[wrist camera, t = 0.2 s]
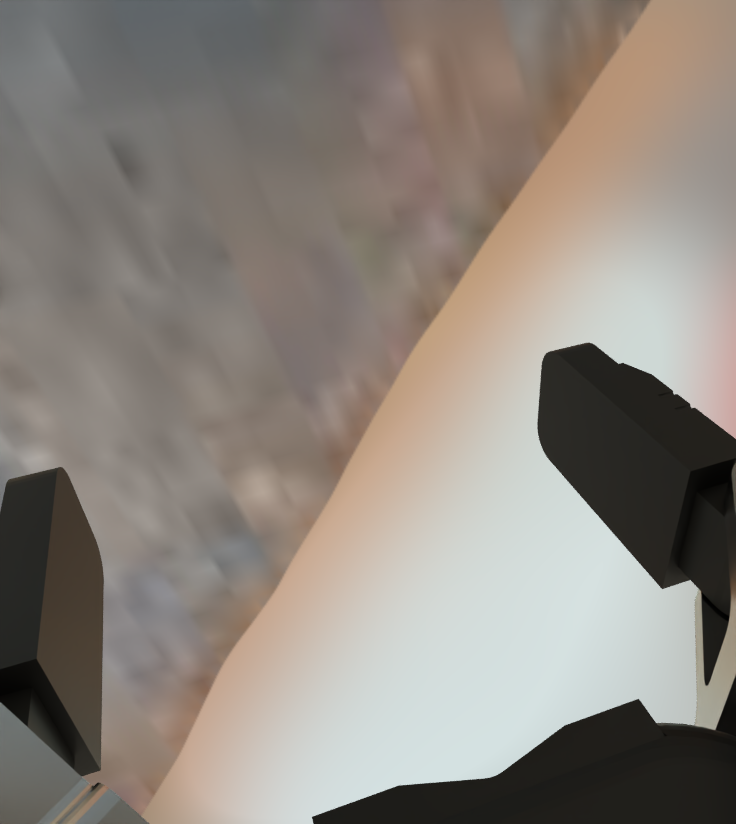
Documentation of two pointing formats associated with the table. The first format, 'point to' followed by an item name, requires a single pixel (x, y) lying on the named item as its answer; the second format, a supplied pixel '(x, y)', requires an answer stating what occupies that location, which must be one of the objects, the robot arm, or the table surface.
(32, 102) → the table surface
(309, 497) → the table surface
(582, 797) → the robot arm
